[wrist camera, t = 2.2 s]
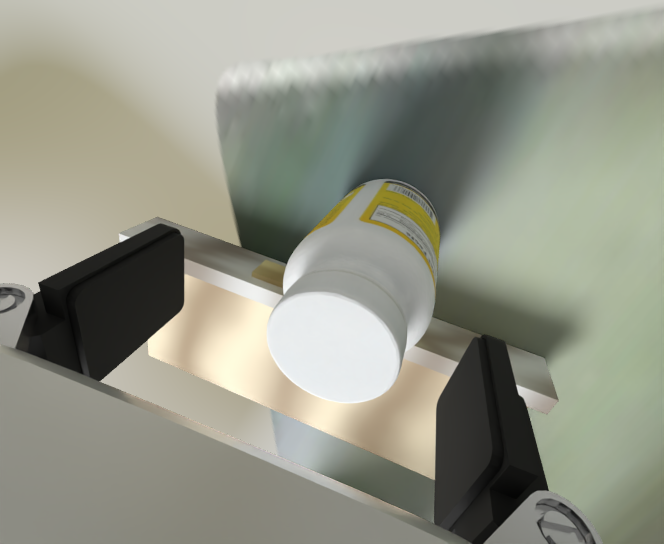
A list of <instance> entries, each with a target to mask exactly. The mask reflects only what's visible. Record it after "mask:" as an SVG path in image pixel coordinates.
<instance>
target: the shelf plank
mask: <svg viewBox="0 0 664 544" xmlns="http://www.w3.org/2000/svg"><path fill="white" fill-rule="evenodd" d="M160 223H161V224H165V225H168V226H171V227H174V228H177V229H178V230H180V232H181V235H182V236H183V237H184V306H183V308H182V310H181V311H180V312H179V313H178V314H177V315H176V316H175V317H173V318H172V319H171V320H170V321H169V322H168V323H167V324H165V325H164V326H163V327H162V328H161V329H160V330H158V331H157V332H156V333H155V334H154V335H153V336H152V337H150V338H149V339H148V349H149V355H150V356H152V357H154V358H157V359H159V360H161V361H163V362H166V363H168V364H170V365H173V366H175V367H177V368H179V369H182V370H184V371H186V372H188V373H191V374H193V375H196V376H198V377H200V378H202V379H204V380H207V381H209V382H211V383H214V384H216V385H218V386H221V387H223V388H225V389H227V390H230V391H232V392H234V393H236V394H239V395H241V396H243V397H246V398H248V399H250V400H252V401H255V402H257V403H259V404H262V405H264V406H266V407H268V408H271V409H273V410H275V411H278V412H280V413H282V414H284V415H287V416H289V417H291V418H294V419H296V420H298V421H300V422H303V423H305V424H307V425H310V426H312V427H314V428H316V429H319V430H321V431H323V432H325V433H328V434H330V435H332V436H335V437H337V438H339V439H341V440H344V441H346V442H348V443H351V444H353V445H355V446H357V447H360V448H362V449H364V450H367V451H369V452H371V453H373V454H376V455H378V456H380V457H383V458H385V459H387V460H389V461H392V462H394V463H396V464H399V465H401V466H403V467H405V468H408V469H410V470H412V471H415V472H417V473H419V474H421V475H424V476H426V477H428V478H431V479H433V480H435V447H436V406H437V402H438V399H439V397H440V395H441V393H442V391H443V390H444V388H445V386H446V384H447V383H448V381H449V379H450V377H451V376H452V374H453V372H454V370H455V369H456V367H457V365H458V363H459V362H460V360H461V358H462V356H463V355H464V353H465V351H466V349H467V348H468V346H469V344H470V343H471V341H472V339H473V338H474V337H479V338H480V337H481V336H482V335H480V334H478V333H475V332H472V331H469V330H467V329H464V328H461V327H458V326H456V325H453V324H450V323H447V322H445V321H442V320H439V319H436V318H434V317H432V318H431V322H430V324H429V326H428V328H427V330H426V332H425V334H424V335H423V336H422V337H421V339H420V340H419V341H418V342H417V343H416V344H415V345H414V346H413V347H412V348H411V349H409V350H408V351H406V352H405V353H404V357H403V361H402V366H401V369H400V373H399V375H398V378H397V379H396V381H395V383H394V384H393V385H392V386H391V388H390V389H389V390H388V391H386V392H385V393H384V394H382V395H381V396H379V397H377V398H375V399H372V400H369V401H365V402H360V403H339V402H334V401H329V400H325V399H322V398H319V397H317V396H315V395H312V394H310V393H308V392H307V391H305V390H303V389H302V388H300V387H299V386H297V385H296V384H294V383H293V382H292V381H291V380H290V379H289V378H287V377H286V375H285V374H284V373H283V372H282V371H281V370H280V368H279V367H278V366H277V364H276V362H275V361H274V359H273V357H272V355H271V353H270V350H269V347H268V344H267V323H268V320H269V317H270V315H271V313H272V311H273V309H274V308H275V306H276V305H277V304H278V302H279V301H280V300H281V298H282V297H283V296H284V294H283V278H284V272H285V268H286V265H287V264H285V263H283V262H280V261H277V260H274V259H272V258H269V257H266V256H264V255H261V254H258V253H255V252H253V251H250V250H247V249H244V248H242V247H239V246H236V245H233V244H231V243H228V242H225V241H222V240H220V239H216V238H214V237H211V236H208V235H206V234H203V233H200V232H198V231H195V230H192V229H189V228H186V227H184V226H181V225H178V224H176V223H173V222H170V221H167V220H165V219H162V218H159V217H156V218H153V219H151V220H149V221H147V222H144V223H142V224H139V225H137V226H135V227H132V228H130V229H128V230H126V231H123V232H121V233H119V240H120V242H122V241H124V240H126V239H128V238H130V237H132V236H134V235H136V234H138V233H141V232H143V231H145V230H147V229H149V228H151V227H153V226H155V225H157V224H160ZM506 346H507V350H508V354H509V358H510V362H511V366H512V370H513V374H514V378H515V382H516V386H517V390H518V394H519V395H520V396H521V397H523V398H524V401H525V403H526V406H527V408H528V407H529V408H532V409H534V410H537V411H540V412H542V413H545V414H548V413H549V412H550V410H551V409H552V408H553V407H554V406H555V405H556V403H557V402H558V401H559V400H558V397H557V394H556V391H555V388H554V385H553V382H552V379H551V376H550V373H549V370H548V367H547V364H546V361H545V358H543V357H541V356H538V355H535V354H532V353H530V352H527V351H524V350H521V349H519V348H516V347H513V346H510V345H508V344H506Z"/></svg>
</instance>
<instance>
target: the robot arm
mask: <svg viewBox="0 0 664 544" xmlns="http://www.w3.org/2000/svg"><path fill="white" fill-rule="evenodd" d="M38 284H39V287H40V292H38V293H36V294H33V292H32V291H31V290H30V289H29V288H27V287H25V286H23V285H18V284H4V283H3V284H0V544H603V543H602V540H601V538H600V535H599V534H598V532H597V531H596V529H595V528H594V526H593V525H592V523H591V522H590V521H589V519H588V518H587V517H586V516H585V515H584V514H583V513H582V511H581V510H580V509H578V508H577V507H576V506H575V505H574V504H572V503H571V502H570V501H569V500H567V499H565V498H564V497H562V496H560V495H558V494H556V493H553V492H550V491H549V490H548V486H547V482H546V478H545V474H544V471H543V467H542V463H541V459H540V455H539V452H538V448H537V444H536V440H535V437H534V433H533V429H532V425H531V421H530V418H529V414H528V410H527V406H526V403H525V401H524V398H523V397H521V396H520V395H519V394H518V390H517V386H516V382H515V378H514V374H513V370H512V366H511V362H510V358H509V354H508V350H507V346H506V343H505V341H503V340H500V339H497V338H494V337H491V336H488V335H485V334H484V335H482V336H481V337H480V338H479V337H474V338H473V339H472V341H471V343H470V344H469V346H468V348H467V349H466V351H465V353H464V355H463V356H462V358H461V360H460V362H459V363H458V365H457V367H456V369H455V370H454V372H453V374H452V376H451V377H450V379H449V381H448V383H447V384H446V386H445V388H444V390H443V391H442V393H441V395H440V397H439V399H438V402H437V406H436V447H435V506H434V522H435V524H433V523H431V522H429V521H427V520H425V519H423V518H421V517H418V516H416V515H414V514H412V513H409V512H407V511H405V510H403V509H400V508H398V507H396V506H394V505H391V504H389V503H387V502H385V501H382V500H380V499H378V498H376V497H373V496H371V495H369V494H367V493H364V492H362V491H360V490H357V489H355V488H353V487H350V486H348V485H346V484H343V483H341V482H338V481H336V480H334V479H331V478H329V477H327V476H324V475H322V474H320V473H317V472H315V471H313V470H310V469H308V468H305V467H303V466H301V465H298V464H296V463H294V462H291V461H289V460H287V459H284V458H282V457H280V456H277V455H275V454H272V453H270V452H268V451H265V450H263V449H261V448H258V447H256V446H253V445H251V444H249V443H246V442H244V441H241V440H239V439H237V438H234V437H232V436H230V435H227V434H225V433H222V432H220V431H217V430H215V429H213V428H210V427H208V426H206V425H203V424H201V423H198V422H196V421H194V420H191V419H189V418H186V417H184V416H182V415H179V414H177V413H174V412H172V411H169V410H167V409H165V408H162V407H160V406H158V405H155V404H153V403H150V402H148V401H145V400H143V399H140V398H138V397H136V396H133V395H131V394H128V393H126V392H123V391H121V390H119V389H116V388H114V387H111V386H109V385H106V384H104V383H101V382H99V381H101V380H102V379H103V378H104V377H105V376H107V375H108V374H109V373H110V372H111V371H112V370H113V369H115V368H116V367H117V366H118V365H119V364H120V363H122V362H123V361H124V360H125V359H126V358H127V357H129V356H130V355H131V354H132V353H133V352H134V351H135V350H137V349H138V348H139V347H140V346H141V345H142V344H143V343H145V342H146V341H147V340H148V339H149V338H150V337H152V336H153V335H154V334H155V333H156V332H157V331H158V330H160V329H161V328H162V327H163V326H164V325H165V324H167V323H168V322H169V321H170V320H171V319H172V318H173V317H175V316H176V315H177V314H178V313H179V312H180V311H181V310H182V308H183V306H184V237H183V236H182V235H181V232H180V230H178V229H177V228H174V227H171V226H168V225H165V224H161V223H160V224H157V225H155V226H153V227H151V228H149V229H147V230H145V231H143V232H141V233H138V234H136V235H134V236H132V237H130V238H128V239H126V240H124V241H122V242H120V243H118V244H116V245H114V246H112V247H110V248H108V249H106V250H104V251H102V252H100V253H98V254H96V255H94V256H92V257H90V258H87V259H85V260H83V261H81V262H79V263H77V264H75V265H73V266H71V267H69V268H67V269H65V270H63V271H61V272H59V273H57V274H55V275H53V276H51V277H49V278H47V279H45V280H43V281H41V282H39V283H38Z"/></svg>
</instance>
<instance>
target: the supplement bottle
mask: <svg viewBox="0 0 664 544" xmlns="http://www.w3.org/2000/svg"><path fill="white" fill-rule="evenodd" d="M439 245H440V226H439V220H438V217H437V214H436V211H435V209H434V207H433V205H432V204H431V202H430V201H429V200H428V198H427V197H426V196H425V195H424V194H423V193H421V192H420V191H419V190H418V189H416V188H415V187H413V186H411V185H409V184H407V183H405V182H402V181H398V180H393V179H377V180H372V181H369V182H366V183H363V184H361V185H359V186H358V187H356V188H354V189H353V190H352V191H350V192H349V193H348V194H347V195H346V196H345V197H344V198H343V199H342V200H341V201H340V202H339V203H338V204H337V205H336V206H335V207H334V208H333V209H332V210H331V211H330V212H329V213H328V214H327V215H326V216H325V217H324V218H323V220H322V221H321V222H320V223H319V224H318V225H317V226H316V227H315V228H314V229H313V230H312V231H311V232H310V233H309V234H308V235H307V236H306V237H305V238H304V239H303V240H302V242H301V243H300V244H299V245H298V246H297V248H296V249H295V250H294V252H293V253H292V255H291V257H290V258H289V261H288V263H287V265H286V268H285V272H284V278H283V294H284V296H283V297H282V298H281V300H280V301H279V302H278V304H277V305H276V306H275V308H274V309H273V311H272V313H271V315H270V317H269V320H268V323H267V344H268V347H269V350H270V353H271V355H272V357H273V359H274V361H275V362H276V364H277V366H278V367H279V368H280V370H281V371H282V372H283V373H284V374H285V375H286V377H287V378H289V379H290V380H291V381H292V382H293V383H294V384H296V385H297V386H299V387H300V388H302V389H303V390H305V391H307V392H308V393H310V394H312V395H315V396H317V397H319V398H322V399H325V400H329V401H334V402H339V403H360V402H365V401H369V400H372V399H375V398H377V397H379V396H381V395H382V394H384V393H385V392H386V391H388V390H389V389H390V388H391V386H392V385H393V384H394V383H395V381H396V379H397V378H398V375H399V373H400V369H401V366H402V361H403V357H404V353H405V352H406V351H408V350H409V349H411V348H412V347H413V346H414V345H415V344H416V343H417V342H418V341H419V340H420V339H421V337H422V336H423V335H424V334H425V332H426V330H427V328H428V326H429V324H430V322H431V318H432V315H433V310H434V305H435V297H436V284H437V271H438V258H439Z"/></svg>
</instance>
